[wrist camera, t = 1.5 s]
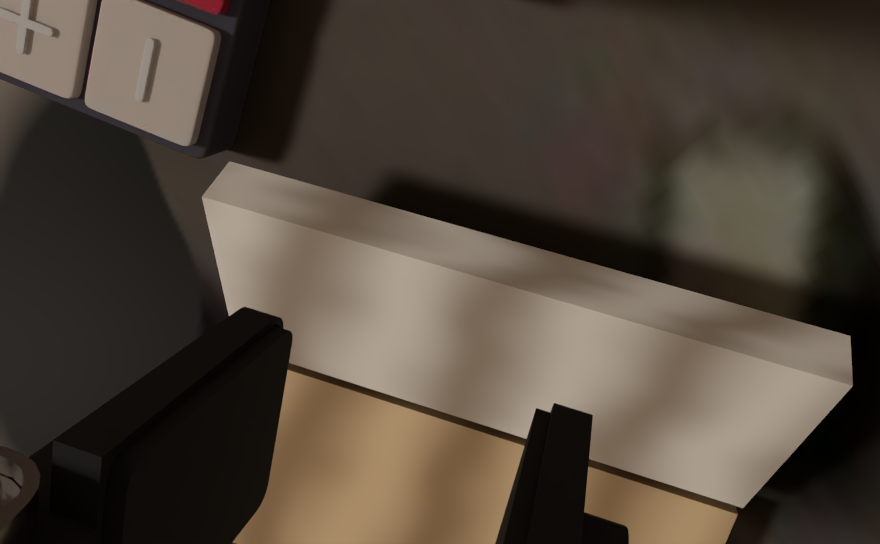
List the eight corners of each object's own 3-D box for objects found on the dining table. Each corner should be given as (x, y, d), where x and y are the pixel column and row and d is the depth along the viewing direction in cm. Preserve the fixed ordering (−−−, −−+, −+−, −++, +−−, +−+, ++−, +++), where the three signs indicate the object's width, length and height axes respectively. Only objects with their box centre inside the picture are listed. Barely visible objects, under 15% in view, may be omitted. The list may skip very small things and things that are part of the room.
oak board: (731, 486, 32) (737, 514, 30) (658, 662, 36) (659, 696, 34) (257, 336, 36) (237, 353, 34) (231, 510, 39) (211, 534, 37)
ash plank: (850, 335, 24) (852, 385, 23) (745, 464, 31) (743, 508, 30) (229, 161, 28) (201, 196, 26) (256, 311, 35) (235, 345, 33)
